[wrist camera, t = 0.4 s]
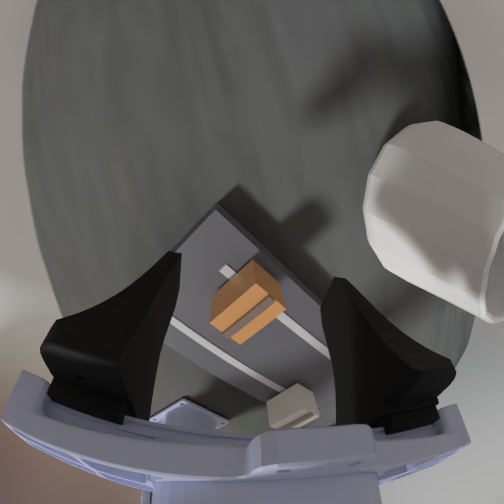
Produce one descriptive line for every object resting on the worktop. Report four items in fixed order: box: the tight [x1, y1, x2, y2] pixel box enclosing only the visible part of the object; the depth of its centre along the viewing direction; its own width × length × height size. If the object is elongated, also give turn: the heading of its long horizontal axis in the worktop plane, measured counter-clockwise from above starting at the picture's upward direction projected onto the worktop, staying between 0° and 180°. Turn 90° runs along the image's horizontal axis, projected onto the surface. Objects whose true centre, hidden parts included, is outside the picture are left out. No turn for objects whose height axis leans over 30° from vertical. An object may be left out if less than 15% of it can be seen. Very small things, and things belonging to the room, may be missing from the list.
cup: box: [363, 121, 504, 324], centre depth 16 cm, size 13×13×14 cm
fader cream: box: [267, 383, 319, 429], centre depth 27 cm, size 4×3×4 cm, turn 134°
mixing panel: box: [163, 203, 336, 409], centre depth 27 cm, size 13×26×2 cm, turn 44°
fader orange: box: [209, 259, 286, 345], centre depth 20 cm, size 4×3×4 cm, turn 134°
